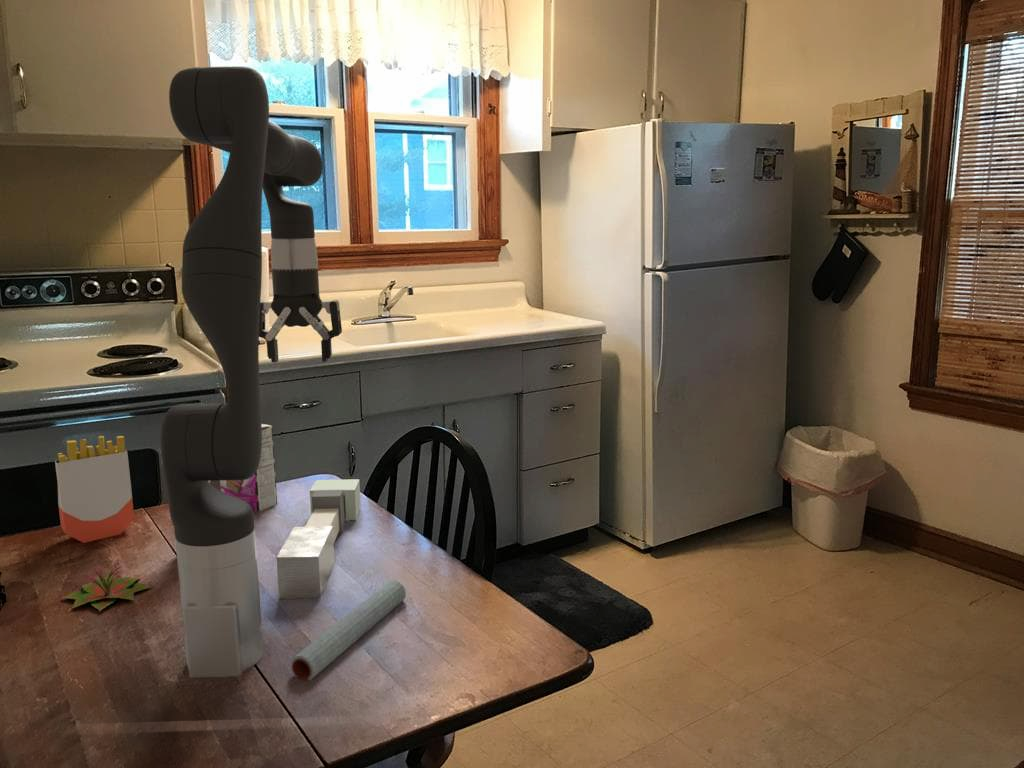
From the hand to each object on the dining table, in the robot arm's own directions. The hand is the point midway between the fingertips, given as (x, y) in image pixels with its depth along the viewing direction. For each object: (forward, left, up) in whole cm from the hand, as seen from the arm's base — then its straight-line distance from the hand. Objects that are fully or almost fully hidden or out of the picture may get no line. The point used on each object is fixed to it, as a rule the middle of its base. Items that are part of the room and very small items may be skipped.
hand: (300, 361), depth 142 cm
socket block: (+4, -4, -30) cm, 31 cm away
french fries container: (-2, +36, -30) cm, 47 cm away
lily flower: (-25, +25, -31) cm, 47 cm away
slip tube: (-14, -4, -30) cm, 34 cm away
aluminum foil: (-39, -12, -31) cm, 51 cm away
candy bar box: (+12, +14, -30) cm, 35 cm away
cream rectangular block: (-22, -4, -30) cm, 37 cm away
